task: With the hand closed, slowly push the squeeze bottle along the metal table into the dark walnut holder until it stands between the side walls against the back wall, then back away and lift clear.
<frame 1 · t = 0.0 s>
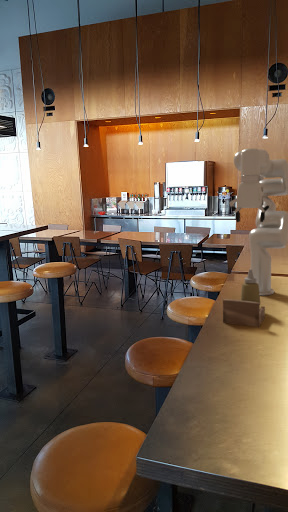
hand: (249, 221, 152), 37 cm above the counter, tool pointing down, fingers open, 9 cm apart
walnut holder: (244, 319, 142), on the counter
squeeze bottle: (250, 312, 151), on the counter
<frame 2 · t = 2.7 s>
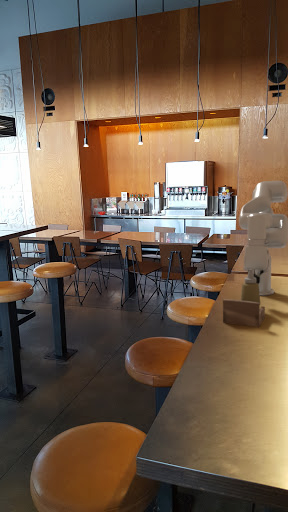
hand: (255, 284, 158), 9 cm above the counter, tool pointing down, fingers closed
nothing on the counter moved.
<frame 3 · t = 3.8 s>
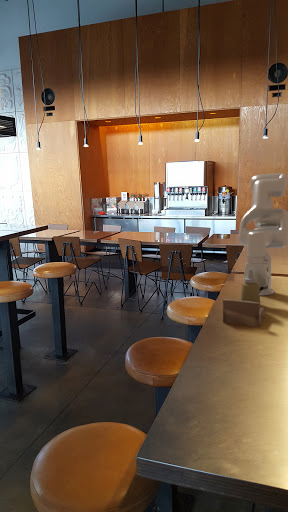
hand: (255, 300, 160), 2 cm above the counter, tool pointing down, fingers closed
nothing on the counter moved.
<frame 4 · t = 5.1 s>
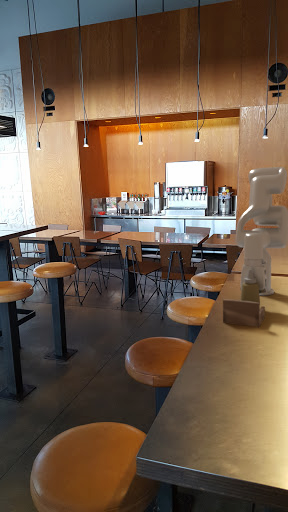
hand: (253, 304, 155), 2 cm above the counter, tool pointing down, fingers closed
squeeze bottle: (249, 312, 151), on the counter, touching gripper
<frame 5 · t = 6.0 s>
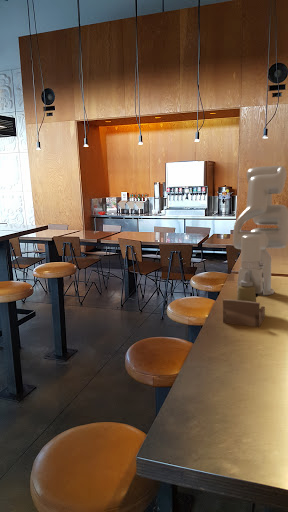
hand: (250, 308, 151), 2 cm above the counter, tool pointing down, fingers closed
squeeze bottle: (246, 316, 147), on the counter, touching gripper
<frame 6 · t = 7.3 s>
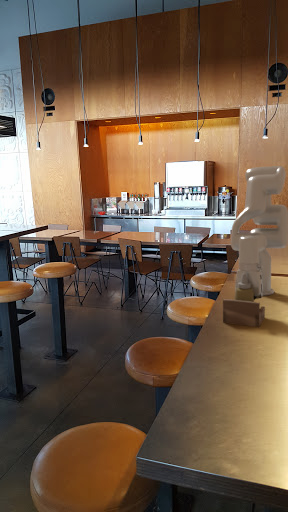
hand: (248, 310, 148), 1 cm above the counter, tool pointing down, fingers closed
squeeze bottle: (244, 319, 144), on the counter, touching gripper
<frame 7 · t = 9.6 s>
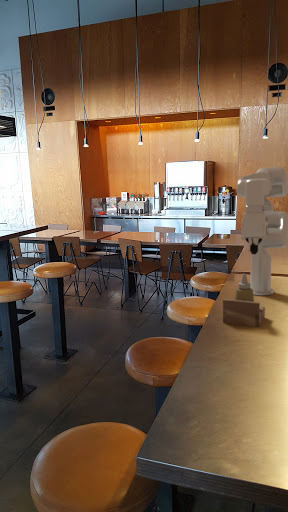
hand: (254, 253, 153), 23 cm above the counter, tool pointing down, fingers closed
squeeze bottle: (244, 319, 144), on the counter
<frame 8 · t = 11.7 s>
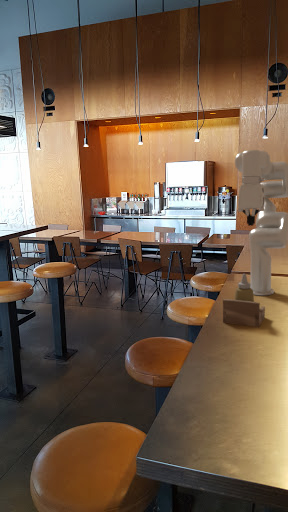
hand: (250, 225, 154), 35 cm above the counter, tool pointing down, fingers closed
nothing on the counter moved.
at the end: squeeze bottle 0.7 cm from the target spot on the walnut holder, point 0.0 cm above the walnut holder's base; squeeze bottle tilted 0° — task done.
